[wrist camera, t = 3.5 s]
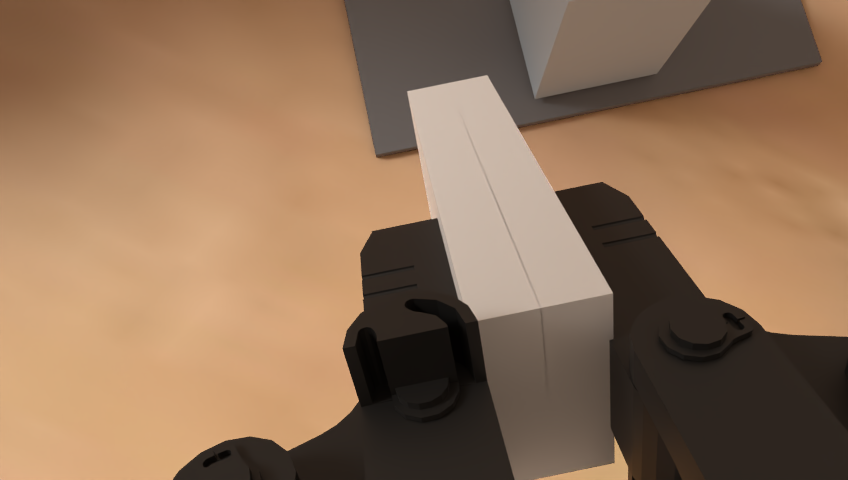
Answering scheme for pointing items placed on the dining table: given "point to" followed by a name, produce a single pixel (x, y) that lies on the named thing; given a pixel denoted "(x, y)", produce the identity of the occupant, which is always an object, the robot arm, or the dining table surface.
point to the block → (598, 39)
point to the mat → (506, 68)
